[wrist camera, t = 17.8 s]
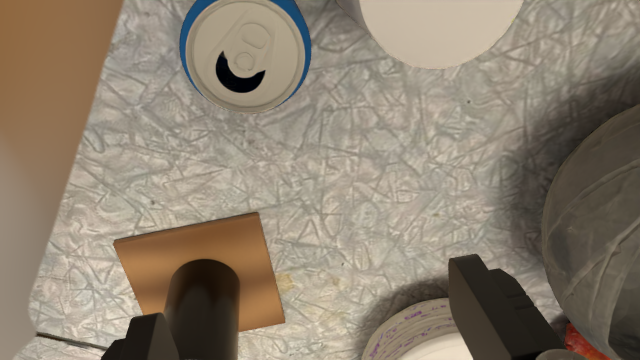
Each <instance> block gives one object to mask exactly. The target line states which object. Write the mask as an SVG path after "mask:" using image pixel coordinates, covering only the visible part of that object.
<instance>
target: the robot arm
mask: <svg viewBox="0 0 640 360" xmlns="http://www.w3.org/2000/svg"><path fill="white" fill-rule="evenodd" d="M448 271H449V305H450V310H451V314H452V317H453V320H454V322H455V324H456V326H457V328H458V330H459V332H460V334H461V336H462V338H463V340H464V342H465V344H466V346H467V348H468V350H469V352H470V354H471V356H472V358H473V360H589V359H587V358H586V357H584V356H583V355H580V354H578V353H576V352H573V351H570V350H568V349H567V348H566V347H565V345H564V344H563V343H562V341H561V340H560V339H559V337H558V336H557V334H556V333H555V332H554V330H553V329H552V328H551V326H550V325H549V324H548V322H547V321H546V320H545V318H544V317H543V315H542V314H541V313H540V311H539V310H538V309H537V307H535V306H534V303H533V302H532V301H531V299H530V298H529V296H528V295H526V292H525V291H524V290H523V288H522V287H521V286H520V284H519V283H518V282H517V280H516V279H515V278H513V277H512V276H510V275H509V274H507V273H506V272H504V271H503V270H501V269H500V268H498V269H493V270H488V269H487V267H486V266H485V264H484V263H483V261H482V260H481V258H480V257H479V256H478V255H477V254H471V255H466V256H461V257H455V258H450V259H449V263H448ZM101 360H179V355H178V351H177V348H176V346H175V343H174V340H173V338H172V335H171V332H170V330H169V327H168V325H167V322H166V319H165V317H164V315H163V313H161V312H158V313H153V314H147V315H142V316H137V317H133V318H132V319H131V321H130V324H129V328H128V331H127V334H126V338H124V339H119V340H114V342H113V343H112V344H111V346H110V347H109V348H108V349H107V351H106V352H105V353H104V355H103V356H102V357H101Z"/></svg>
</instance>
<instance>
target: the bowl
mask: <svg viewBox="0 0 640 360" xmlns="http://www.w3.org/2000/svg"><path fill="white" fill-rule="evenodd" d="M541 237H542V240H541V241H542V256H543V263H544V267H545V270H546V274H547V278H548V282H549V284H550V286H551V288H552V291H553V293H554V295H555V297H556V299H557V301H558V303H559V305H560V307H561V308H562V310H563V312H564V314H565V315H566V317H567V318H568V319H569V321H570V322H571V323H572V324H573V326H574V327H575V328H576V330H577V331H578V332H579V333H580V334H581V335H582V336H583V337H584V338H585V339H586V340H587V341H588V342H589V343H590V344H591V345H592V346H593V347H594V348H596V349H597V350H598V351H599V352H601V353H603V354H604V355H606V356H608V357H609V358H610V359H612V360H640V104H638V105H636V106H634V107H631V108H629V109H627V110H625V111H623V112H621V113H619V114H617V115H615V116H614V117H612V118H611V119H609V120H608V121H606V122H605V123H604V124H602V125H601V126H599V127H598V128H597V129H596V130H595V131H594V132H592V133H591V134H590V135H589V136H588V137H586V138H585V139H584V140H583V141H582V142H581V143H580V144H579V145H578V146H577V147H576V149H575V150H574V151H573V152H572V153H571V154H570V155H569V156H568V157H567V159H566V160H565V161H564V162H563V164H562V165H561V166H560V168H559V170H558V172H557V173H556V175H555V177H554V179H553V181H552V183H551V186H550V188H549V191H548V193H547V196H546V200H545V205H544V208H543V215H542V234H541Z"/></svg>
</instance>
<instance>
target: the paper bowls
mask: <svg viewBox="0 0 640 360" xmlns="http://www.w3.org/2000/svg"><path fill="white" fill-rule="evenodd" d="M362 360H473V358H472V356H471V354H470V352H469V350H468V348H467V346H466V344H465V342H464V340H463V338H462V336H461V334H460V332H459V330H458V328H457V326H456V324H455V322H454V320H453V317H452V314H451V310H450V305H449V298H440V299H434V300H428V301H423V302H420V303H417V304H414V305H411V306H409V307H408V308H406V309H404V310H403V311H401V312H399V313H397V314H395V315H394V316H392V317H391V318H390V319H389V320H387V321H386V322H384V323H383V324H382V325H380V327H379V328H378V329H377V330H376V332H375V333H374V334H373V335H372V336H371V338H370V339H369V342H368V343H367V346H366V348H365V350H364V353H363V355H362Z"/></svg>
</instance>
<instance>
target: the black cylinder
mask: <svg viewBox="0 0 640 360" xmlns="http://www.w3.org/2000/svg"><path fill="white" fill-rule="evenodd" d="M239 308H240V281H239V278H238V276H237V274H236V273H235V271H234V270H233V269H232V268H231V267H229V266H228V265H226V264H224V263H222V262H220V261H217V260H212V259H197V260H193V261H190V262H187V263H185V264H183V265H182V266H181V267H179V268H178V269H177V270H176V271H175V273H174V274H173V276H172V278H171V281H170V285H169V290H168V294H167V298H166V302H165V307H164V311H163V315H164V317H165V319H166V322H167V325H168V327H169V330H170V332H171V335H172V338H173V340H174V343H175V346H176V348H177V351H178V355H179V360H238V335H239Z"/></svg>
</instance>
